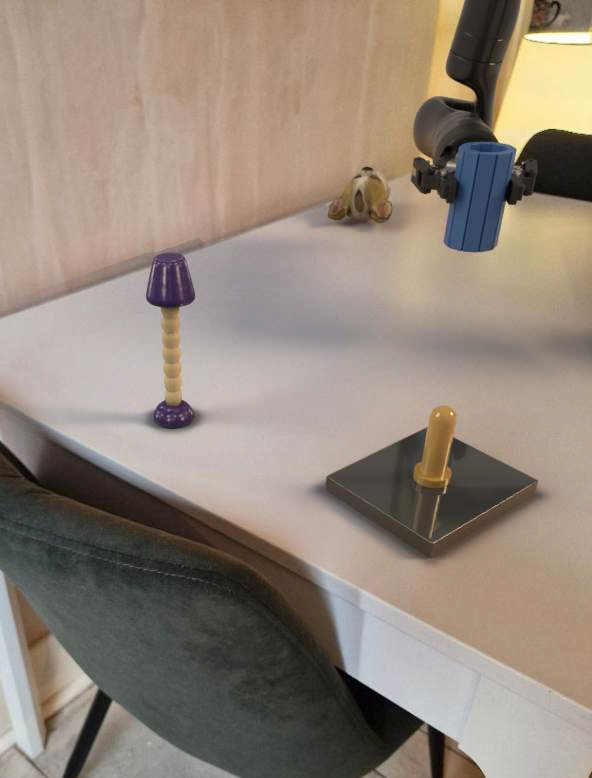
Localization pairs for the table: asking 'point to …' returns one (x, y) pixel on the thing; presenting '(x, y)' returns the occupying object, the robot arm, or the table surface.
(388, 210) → the ceramic sculpture
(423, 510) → the yellow peg on plate
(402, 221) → the table surface
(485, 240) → the sleeve
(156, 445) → the table surface
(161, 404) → the toy lamp
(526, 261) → the table surface
